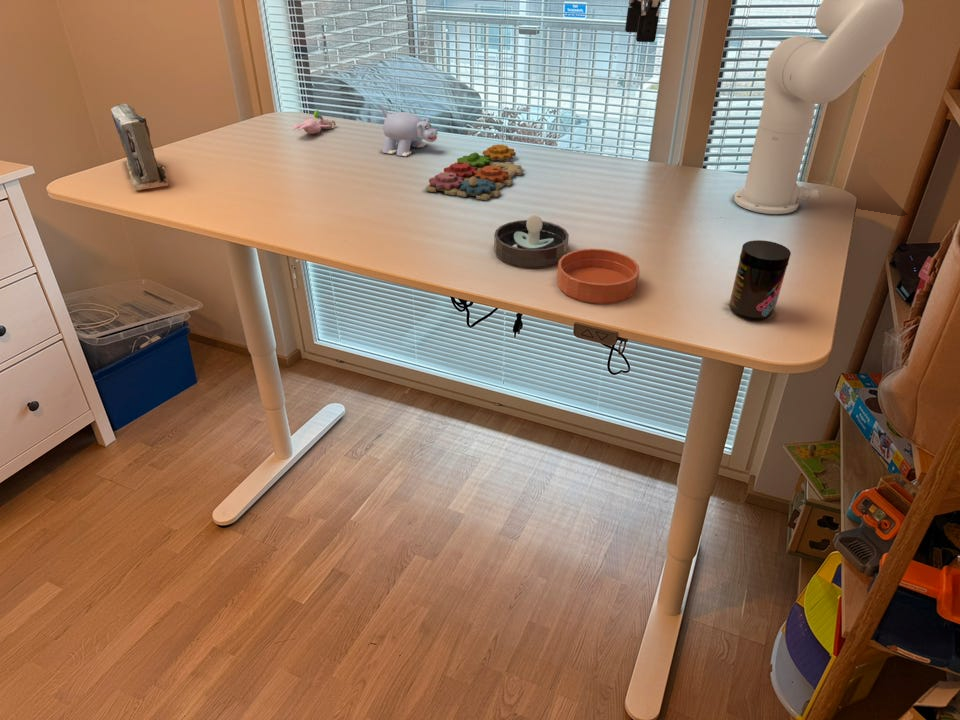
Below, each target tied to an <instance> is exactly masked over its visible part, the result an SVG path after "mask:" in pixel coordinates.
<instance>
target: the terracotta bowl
mask: <svg viewBox="0 0 960 720" xmlns="http://www.w3.org/2000/svg"><path fill="white" fill-rule="evenodd" d="M640 270H641V269H640V265H639V264H638V263H637V261H636V260H635V259H633V258H631V257H630V256H628V255H627V254H624V253H621V252H619V251H615V250H611V249H606V248H605V249H603V248H583V249H582V248H581V249H577V250H573V251H569V252H567V254H566V255H564V256H562V258H561V259H560V260H559V261H558V264H557V273H556V274H557V275H556V284H557V286H558V288H559V289H560V290H561V291H562V293H564V294H565V295H566V296H567V297H570V298H571V299H574V300H577V301H580V302H584V303H589V304H596V305H605V304H607V305H608V304H616V303H620V302H623V301H625V300H627V299H629V298H630V297H631V296H633V295H634V294H635V293H636V291H637V290H638V285H639V279H640V273H641V271H640Z"/></svg>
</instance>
